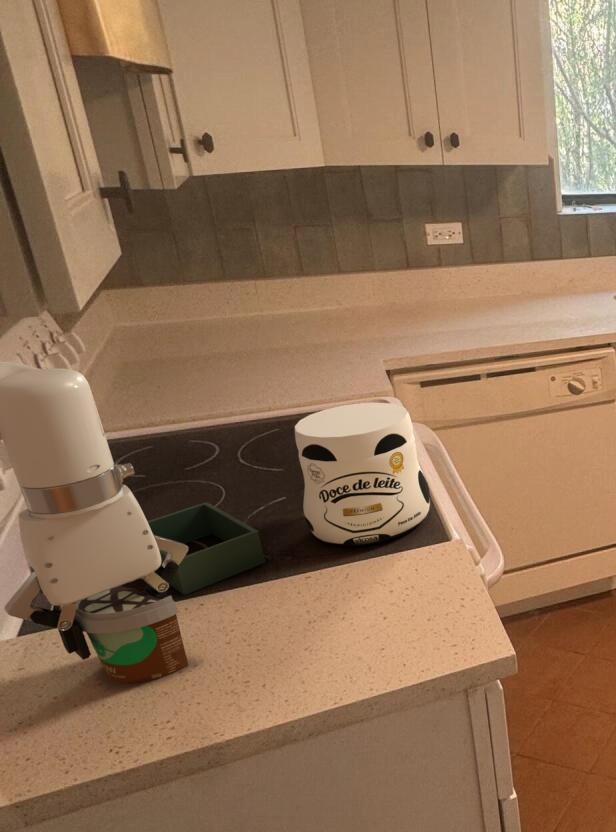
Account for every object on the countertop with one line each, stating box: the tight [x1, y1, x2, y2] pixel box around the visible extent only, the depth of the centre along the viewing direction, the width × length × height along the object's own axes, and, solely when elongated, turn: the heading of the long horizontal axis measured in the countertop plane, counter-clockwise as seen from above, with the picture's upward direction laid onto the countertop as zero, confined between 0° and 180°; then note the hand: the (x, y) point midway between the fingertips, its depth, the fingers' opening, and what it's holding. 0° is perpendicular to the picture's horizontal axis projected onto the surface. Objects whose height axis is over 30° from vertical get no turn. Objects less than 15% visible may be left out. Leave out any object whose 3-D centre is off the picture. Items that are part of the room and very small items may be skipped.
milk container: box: [294, 402, 431, 547], centre depth 117 cm, size 17×17×18 cm
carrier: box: [147, 501, 266, 596], centre depth 110 cm, size 16×10×6 cm, turn 55°
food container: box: [74, 585, 189, 685], centre depth 86 cm, size 12×6×10 cm, turn 67°
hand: (122, 635), depth 86 cm, fingers closed on food container, 6 cm apart
